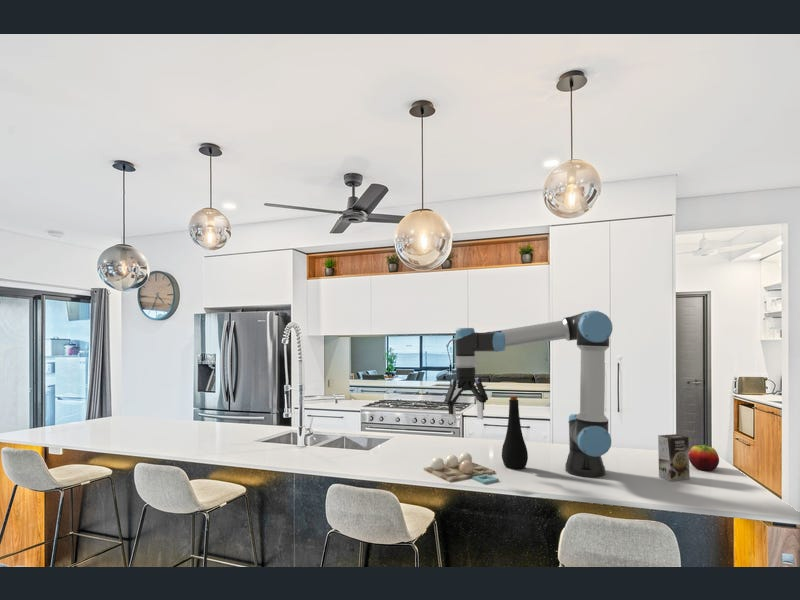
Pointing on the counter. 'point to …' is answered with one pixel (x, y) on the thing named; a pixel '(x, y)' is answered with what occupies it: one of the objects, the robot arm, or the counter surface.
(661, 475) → the coffee box
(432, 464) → the cream egg
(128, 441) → the counter surface
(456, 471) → the carton
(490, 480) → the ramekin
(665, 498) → the counter surface
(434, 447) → the counter surface
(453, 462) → the cream egg
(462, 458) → the cream egg
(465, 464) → the brown egg
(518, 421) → the bottle
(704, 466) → the fruit
